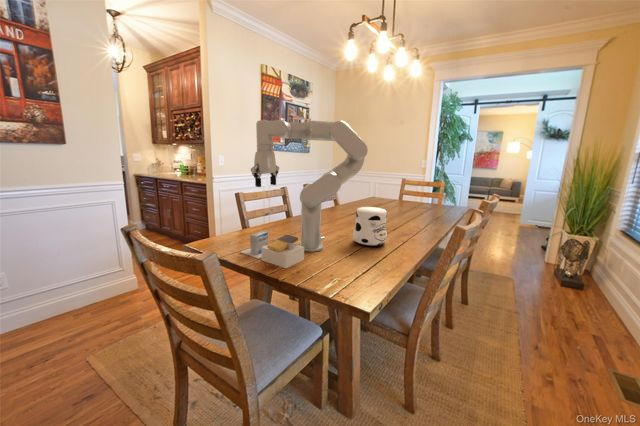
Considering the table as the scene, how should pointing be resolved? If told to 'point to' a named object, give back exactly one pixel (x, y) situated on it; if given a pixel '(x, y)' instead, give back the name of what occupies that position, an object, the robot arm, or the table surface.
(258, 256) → the pad
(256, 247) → the medicine box
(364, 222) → the milk container
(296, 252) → the switch box
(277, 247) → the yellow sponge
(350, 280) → the table surface
